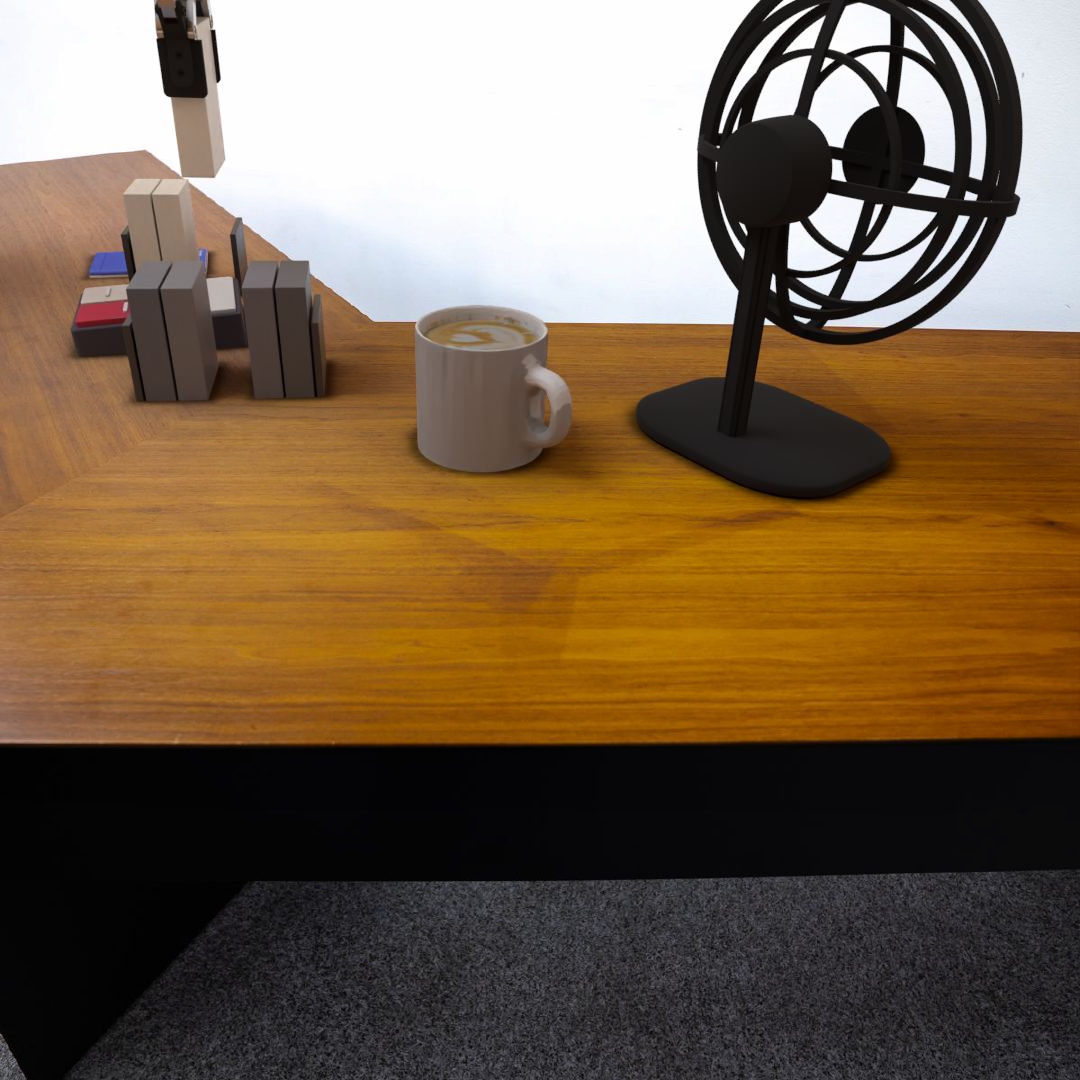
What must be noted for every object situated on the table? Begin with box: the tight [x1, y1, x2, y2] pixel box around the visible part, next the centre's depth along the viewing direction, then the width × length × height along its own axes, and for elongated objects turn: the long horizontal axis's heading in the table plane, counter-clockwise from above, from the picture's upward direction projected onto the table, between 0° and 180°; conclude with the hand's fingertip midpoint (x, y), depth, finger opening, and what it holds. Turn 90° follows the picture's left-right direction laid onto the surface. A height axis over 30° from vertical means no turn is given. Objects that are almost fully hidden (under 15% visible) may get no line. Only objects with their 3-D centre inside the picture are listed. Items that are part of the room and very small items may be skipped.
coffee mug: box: [414, 304, 573, 473], centre depth 75 cm, size 13×10×10 cm
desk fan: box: [635, 0, 1024, 498], centre depth 72 cm, size 27×18×35 cm, turn 40°
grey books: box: [122, 260, 327, 403], centre depth 84 cm, size 15×8×10 cm, turn 99°
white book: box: [170, 17, 226, 179], centre depth 79 cm, size 3×7×11 cm, turn 8°
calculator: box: [70, 276, 248, 358], centre depth 95 cm, size 11×4×15 cm
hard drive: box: [88, 248, 209, 279], centre depth 113 cm, size 2×8×12 cm
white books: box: [120, 178, 249, 297], centre depth 105 cm, size 11×7×11 cm, turn 99°
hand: (194, 87), depth 79 cm, fingers closed on white book, 7 cm apart
